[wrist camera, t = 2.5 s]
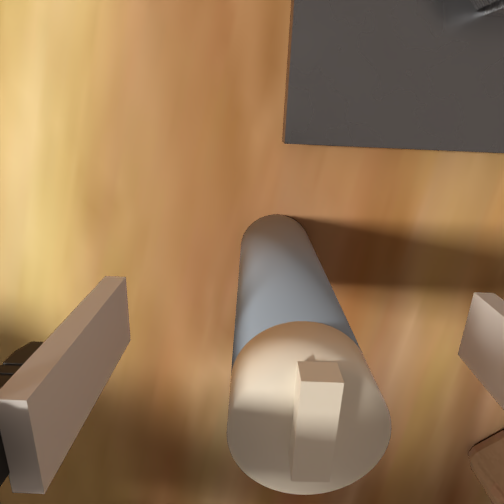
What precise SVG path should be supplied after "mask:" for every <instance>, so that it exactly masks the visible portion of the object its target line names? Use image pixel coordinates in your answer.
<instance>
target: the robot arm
mask: <svg viewBox="0 0 504 504" xmlns="http://www.w3.org/2000/svg"><path fill="white" fill-rule="evenodd" d="M129 342H130V327H129V314H128V301H127V288H126V277H116V276H105V277H104V278H103V279H102V280H101V281H100V282H99V283H98V284H97V286H96V287H95V288H94V289H93V290H92V291H91V292H90V293H89V294H88V295H87V296H86V297H85V298H84V300H83V301H82V302H81V303H80V304H79V305H78V306H77V307H76V308H75V309H74V310H73V311H72V312H71V313H70V315H69V316H68V317H67V318H66V319H65V320H64V321H63V322H62V323H61V324H60V325H59V326H58V327H57V329H56V330H55V331H54V332H53V333H52V334H51V335H50V336H49V337H48V338H47V339H46V340H45V341H44V342H30V343H29V344H27V345H25V346H23V347H22V348H20V349H18V350H16V351H15V352H14V353H13V354H12V355H11V356H10V357H9V358H8V359H7V360H6V361H4V362H3V365H0V486H1V485H2V483H3V482H4V480H5V479H6V477H7V476H8V475H9V479H10V484H11V488H12V492H13V493H34V494H45V492H46V491H47V489H48V487H49V485H50V483H51V482H52V480H53V478H54V476H55V474H56V473H57V471H58V469H59V467H60V465H61V464H62V462H63V460H64V458H65V457H66V455H67V453H68V451H69V449H70V448H71V446H72V444H73V442H74V440H75V439H76V437H77V435H78V433H79V431H80V430H81V428H82V426H83V424H84V422H85V421H86V419H87V417H88V415H89V414H90V412H91V410H92V408H93V406H94V405H95V403H96V401H97V399H98V397H99V396H100V394H101V392H102V390H103V388H104V387H105V385H106V383H107V381H108V379H109V378H110V376H111V374H112V372H113V371H114V369H115V367H116V365H117V363H118V362H119V360H120V358H121V356H122V354H123V353H124V351H125V349H126V347H127V345H128V344H129ZM458 355H459V356H460V358H461V359H462V360H463V361H464V363H465V364H466V365H467V366H468V367H469V369H470V370H471V371H472V372H473V373H474V375H475V376H476V377H477V378H478V379H479V381H480V382H481V383H482V384H483V386H484V387H485V388H486V389H487V390H488V392H489V393H490V394H491V395H492V396H493V398H494V399H495V400H496V401H497V402H498V404H499V405H500V406H501V407H502V409H503V410H504V300H503V299H501V298H500V297H499V296H498V295H496V294H495V293H481V292H474V294H473V298H472V302H471V306H470V310H469V314H468V317H467V321H466V325H465V329H464V333H463V336H462V340H461V344H460V348H459V352H458Z"/></svg>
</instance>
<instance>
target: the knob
mask: <svg viewBox="0 0 504 504" xmlns="http://www.w3.org/2000/svg"><path fill="white" fill-rule="evenodd" d="M390 436H391V418H390V413H389V410H388V408H387V405H386V403H385V401H384V399H383V396H382V394H381V392H380V390H379V388H378V386H377V384H376V381H375V379H374V377H373V375H372V373H371V371H370V369H369V366H368V364H367V362H366V360H365V358H364V356H363V354H362V351H361V349H360V347H359V345H358V343H357V341H356V338H355V336H354V334H353V332H352V330H351V328H350V326H349V323H348V321H347V319H346V317H345V315H344V313H343V311H342V308H341V306H340V304H339V302H338V300H337V298H336V296H335V293H334V291H333V289H332V287H331V285H330V283H329V280H328V278H327V276H326V274H325V272H324V270H323V268H322V265H321V263H320V261H319V259H318V257H317V255H316V253H315V250H314V248H313V246H312V244H311V242H310V240H309V238H308V235H307V233H306V231H305V230H304V228H303V227H302V226H301V225H300V224H299V223H298V222H297V221H295V220H294V219H292V218H290V217H287V216H284V215H268V216H264V217H262V218H259V219H258V220H256V221H255V222H253V223H252V224H251V225H250V226H249V227H248V229H247V230H246V232H245V233H244V235H243V238H242V242H241V253H240V266H239V279H238V292H237V305H236V318H235V331H234V344H233V357H232V370H231V383H230V396H229V409H228V422H227V442H228V446H229V450H230V452H231V455H232V457H233V459H234V460H235V462H236V464H237V465H238V466H239V467H240V468H241V470H242V471H243V472H244V473H245V474H247V475H248V476H249V477H250V478H252V479H253V480H254V481H256V482H258V483H259V484H261V485H263V486H265V487H268V488H270V489H273V490H276V491H280V492H284V493H289V494H298V495H312V494H321V493H326V492H331V491H334V490H337V489H341V488H343V487H345V486H348V485H350V484H352V483H354V482H355V481H357V480H359V479H360V478H362V477H363V476H365V475H366V474H367V473H368V472H369V471H371V470H372V469H373V468H374V467H375V465H376V464H377V463H378V462H379V461H380V459H381V458H382V456H383V455H384V453H385V451H386V449H387V447H388V444H389V440H390Z"/></svg>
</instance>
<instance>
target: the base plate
mask: <svg viewBox="0 0 504 504" xmlns="http://www.w3.org/2000/svg"><path fill="white" fill-rule="evenodd" d="M282 142H283V143H285V144H309V145H332V146H355V147H378V148H401V149H424V150H447V151H470V152H493V153H504V0H291V15H290V30H289V45H288V60H287V76H286V91H285V106H284V121H283V137H282Z"/></svg>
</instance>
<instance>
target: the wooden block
mask: <svg viewBox="0 0 504 504" xmlns="http://www.w3.org/2000/svg"><path fill="white" fill-rule="evenodd" d="M468 456H469V459H470V466H471V469H472V470H473V472H474V474H475V475H476V477H477V479H478V480H479V482H480V483H481V485H482V487H483V488H484V490H485V491H486V493H487V495H488V496H489V498H490V499H491V501H492V503H493V504H504V430H502V431H501V432H499V433H497V434H495V435H493V436H492V437H490V438H488V439H486V440H484V441H482V442H481V443H479V444H477V445H475V446H473V447H472V449H471V450H470V451H469V452H468Z"/></svg>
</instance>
